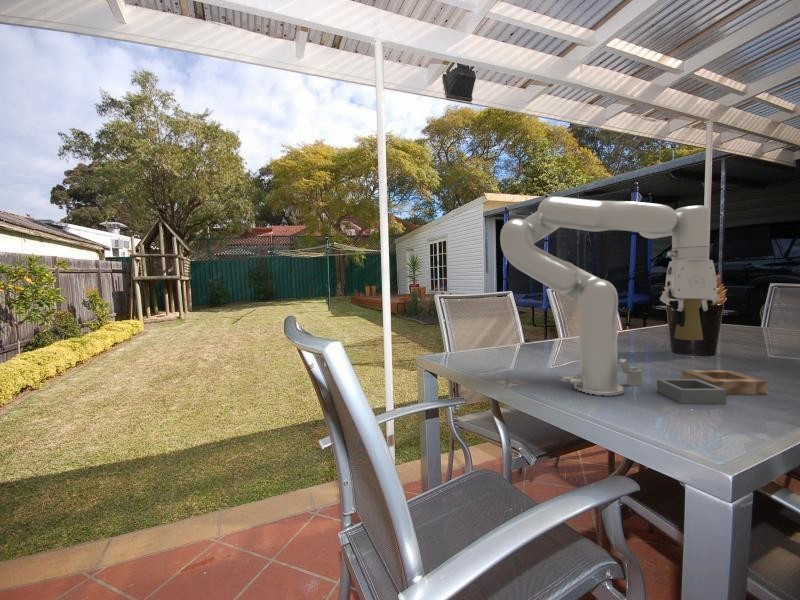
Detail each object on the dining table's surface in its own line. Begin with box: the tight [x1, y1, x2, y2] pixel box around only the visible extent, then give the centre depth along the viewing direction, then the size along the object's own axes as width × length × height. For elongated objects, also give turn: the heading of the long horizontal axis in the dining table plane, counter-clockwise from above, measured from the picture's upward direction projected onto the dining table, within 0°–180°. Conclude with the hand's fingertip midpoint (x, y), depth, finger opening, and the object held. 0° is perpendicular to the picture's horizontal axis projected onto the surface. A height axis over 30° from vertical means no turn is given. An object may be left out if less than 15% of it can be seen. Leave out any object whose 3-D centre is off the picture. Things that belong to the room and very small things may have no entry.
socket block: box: [681, 369, 768, 396], centre depth 106 cm, size 13×13×4 cm
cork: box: [674, 299, 704, 341], centre depth 98 cm, size 6×6×11 cm
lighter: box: [617, 358, 643, 387], centre depth 111 cm, size 7×2×8 cm, turn 103°
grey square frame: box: [656, 378, 727, 405], centre depth 99 cm, size 10×10×4 cm
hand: (689, 325), depth 98 cm, fingers closed on cork, 3 cm apart
